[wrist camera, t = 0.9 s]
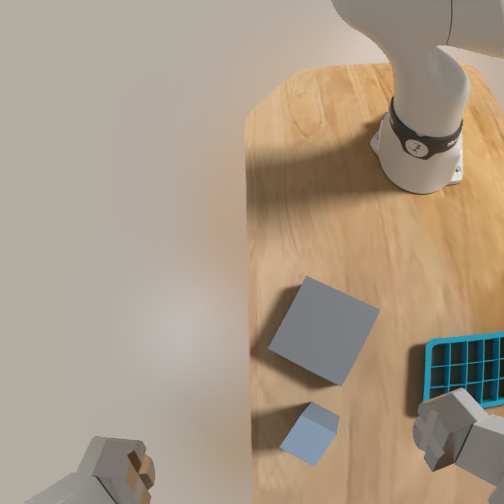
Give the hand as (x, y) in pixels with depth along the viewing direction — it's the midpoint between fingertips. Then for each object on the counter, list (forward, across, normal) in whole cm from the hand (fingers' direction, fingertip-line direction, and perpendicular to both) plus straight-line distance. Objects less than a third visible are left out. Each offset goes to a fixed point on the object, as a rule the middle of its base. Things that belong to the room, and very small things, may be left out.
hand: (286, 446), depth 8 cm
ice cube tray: (+25, -33, +24) cm, 48 cm away
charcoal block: (+37, -10, +18) cm, 42 cm away
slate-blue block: (+30, -7, +30) cm, 42 cm away
